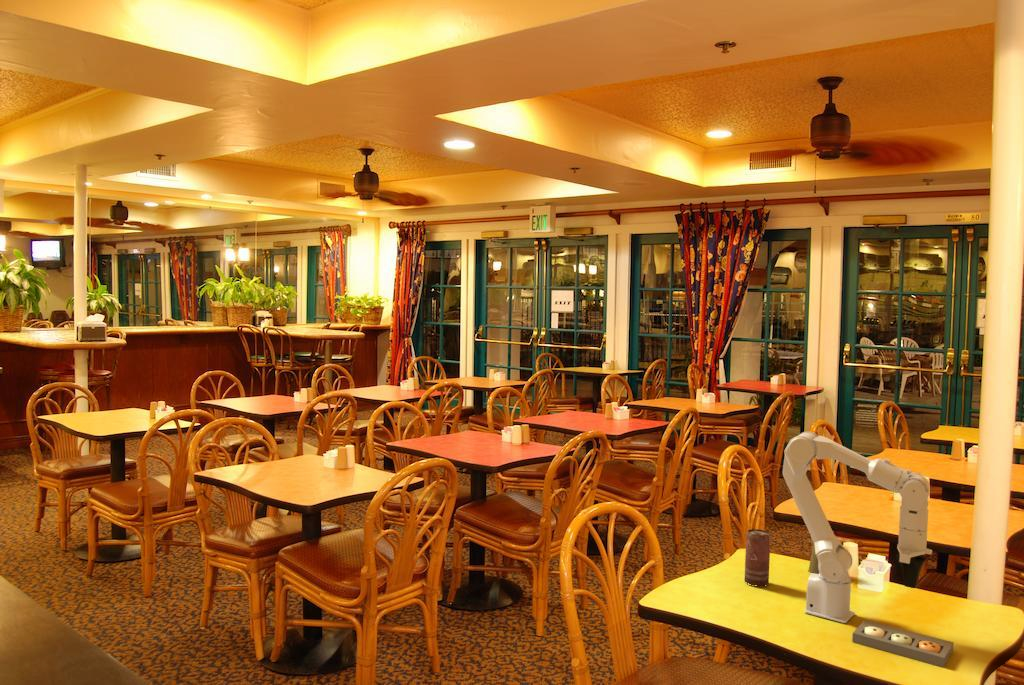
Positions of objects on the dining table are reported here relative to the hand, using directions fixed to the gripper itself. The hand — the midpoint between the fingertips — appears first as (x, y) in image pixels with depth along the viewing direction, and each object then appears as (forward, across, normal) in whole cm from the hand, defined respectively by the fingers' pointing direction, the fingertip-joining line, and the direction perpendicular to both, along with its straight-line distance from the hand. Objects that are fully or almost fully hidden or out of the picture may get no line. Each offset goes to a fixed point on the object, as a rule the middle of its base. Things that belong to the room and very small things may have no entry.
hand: (910, 586), depth 178 cm
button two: (+10, -11, -1) cm, 15 cm away
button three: (+10, -11, -7) cm, 16 cm away
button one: (+10, -11, +5) cm, 16 cm away
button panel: (+10, -10, -1) cm, 14 cm away
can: (+11, +6, +38) cm, 40 cm away
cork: (+11, +26, +28) cm, 40 cm away
